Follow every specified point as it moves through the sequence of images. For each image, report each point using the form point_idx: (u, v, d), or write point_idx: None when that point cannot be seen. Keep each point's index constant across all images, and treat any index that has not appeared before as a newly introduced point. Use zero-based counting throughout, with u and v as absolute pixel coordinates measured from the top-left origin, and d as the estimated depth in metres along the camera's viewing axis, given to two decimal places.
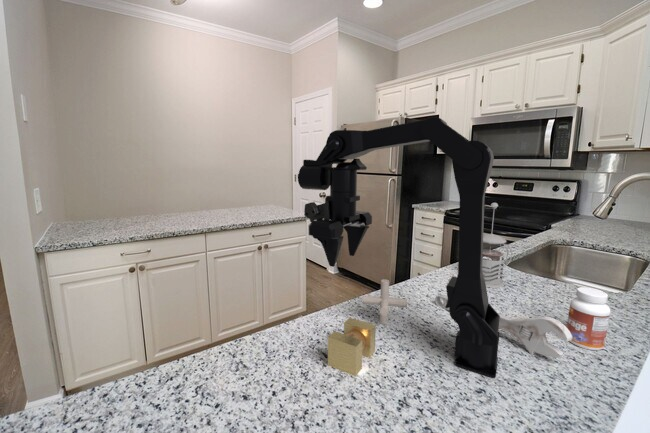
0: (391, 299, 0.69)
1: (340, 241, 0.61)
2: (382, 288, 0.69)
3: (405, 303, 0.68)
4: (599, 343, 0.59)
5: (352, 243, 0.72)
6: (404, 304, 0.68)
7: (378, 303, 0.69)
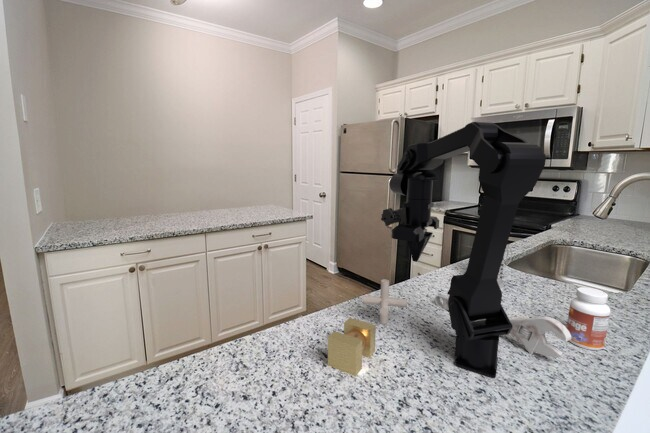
0: (391, 299, 0.69)
1: (426, 240, 0.72)
2: (382, 288, 0.69)
3: (405, 303, 0.68)
4: (599, 343, 0.59)
5: None
6: (404, 304, 0.68)
7: (378, 303, 0.69)
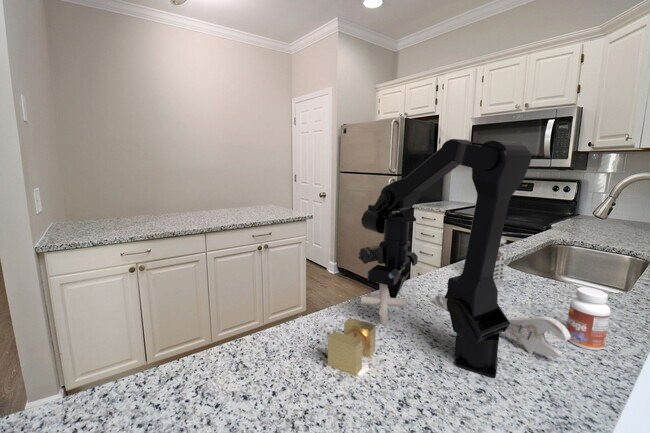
0: (390, 299, 0.69)
1: (403, 280, 0.72)
2: (381, 289, 0.69)
3: (404, 303, 0.68)
4: (599, 343, 0.59)
5: None
6: (403, 304, 0.68)
7: (377, 304, 0.69)
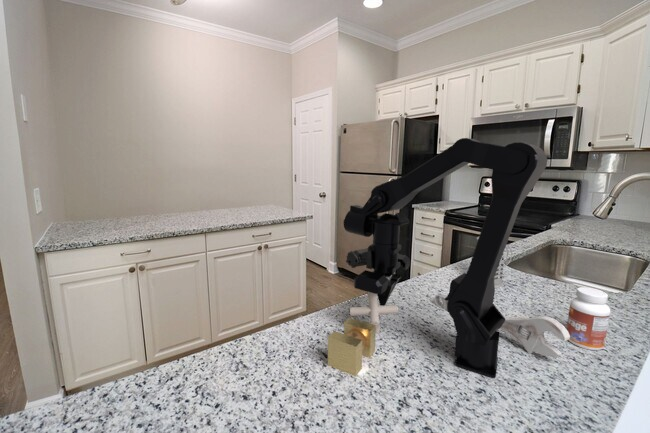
0: (381, 308, 0.64)
1: (393, 286, 0.67)
2: (370, 298, 0.64)
3: (396, 310, 0.64)
4: (599, 343, 0.59)
5: None
6: (395, 311, 0.64)
7: (368, 314, 0.65)
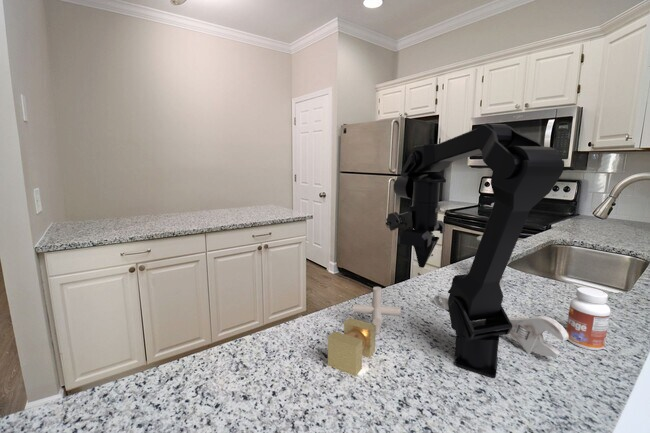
0: (384, 308, 0.65)
1: (433, 245, 0.69)
2: (374, 296, 0.64)
3: (399, 312, 0.64)
4: (599, 343, 0.59)
5: None
6: (398, 313, 0.64)
7: (370, 312, 0.65)
